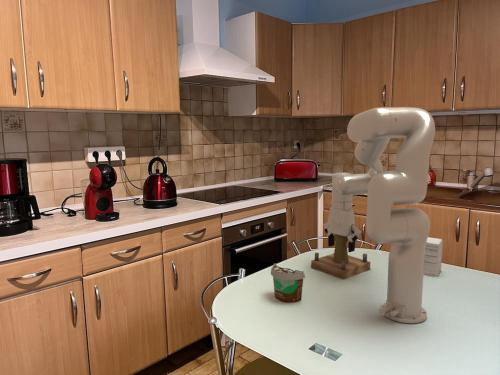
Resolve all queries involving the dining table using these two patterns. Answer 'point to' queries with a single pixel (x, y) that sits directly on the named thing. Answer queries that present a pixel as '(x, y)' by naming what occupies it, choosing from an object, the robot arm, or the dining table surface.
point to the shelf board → (340, 266)
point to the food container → (287, 284)
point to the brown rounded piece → (340, 249)
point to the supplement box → (433, 257)
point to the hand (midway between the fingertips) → (341, 248)
